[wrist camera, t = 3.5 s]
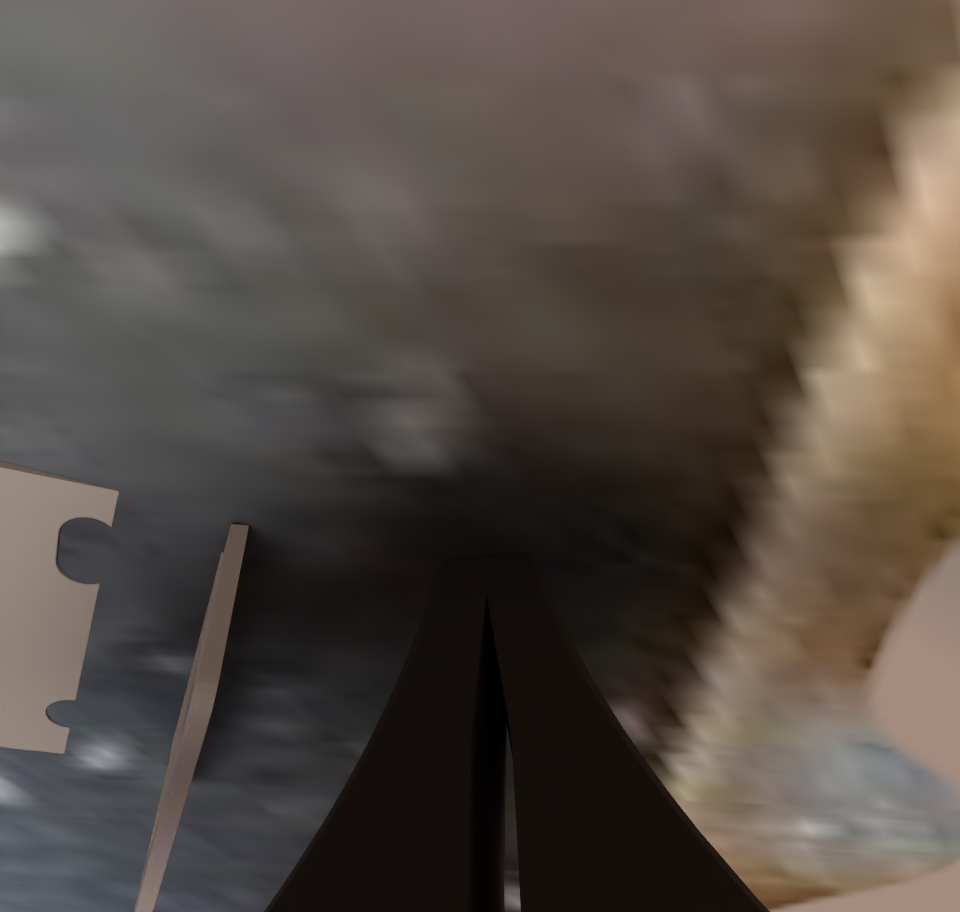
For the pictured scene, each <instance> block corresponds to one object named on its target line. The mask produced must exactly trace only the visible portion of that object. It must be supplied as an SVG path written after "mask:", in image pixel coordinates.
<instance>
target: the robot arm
mask: <svg viewBox="0 0 960 912" xmlns="http://www.w3.org/2000/svg"><path fill="white" fill-rule="evenodd" d="M507 727H508V733H509V739H510V745H511V750H512V756H513V769H514V786H515V804H516V822H517V841H518V860H519V879H520V900H521V912H769V911H768V910H767V908H766V907H765V906H764V905H763V904H762V903H761V902H760V901H759V900H758V899H757V898H756V896H755V895H754V894H753V893H752V892H751V891H750V889H749V888H748V887H747V886H746V885H745V884H744V882H743V881H742V880H741V879H740V878H739V877H738V876H737V874H736V873H735V872H734V871H733V870H732V869H731V867H730V866H729V865H728V864H727V863H726V862H725V860H724V859H723V858H722V857H721V856H720V855H719V853H718V852H717V851H716V850H715V849H714V848H713V847H712V845H711V844H710V843H709V842H708V841H707V840H706V838H705V837H704V836H703V835H702V834H701V833H700V831H699V830H698V829H697V828H696V826H695V825H694V824H693V823H692V821H691V820H690V819H689V818H688V816H687V815H686V814H685V812H684V811H683V810H682V809H681V807H680V806H679V805H678V804H677V802H676V801H675V800H674V798H673V797H672V796H671V795H670V793H669V792H668V791H667V789H666V788H665V787H664V785H663V784H662V783H661V781H660V780H659V779H658V777H657V776H656V774H655V773H654V772H653V770H652V769H651V768H650V766H649V765H648V764H647V762H646V761H645V759H644V758H643V757H642V755H641V754H640V752H639V751H638V749H637V748H636V747H635V745H634V744H633V742H632V741H631V739H630V738H629V736H628V735H627V733H626V732H625V730H624V729H623V727H622V726H621V724H620V723H619V721H618V720H617V718H616V716H615V715H614V713H613V712H612V710H611V709H610V707H609V705H608V704H607V702H606V701H605V699H604V698H603V696H602V694H601V693H600V691H599V689H598V688H597V686H596V684H595V682H594V681H593V679H592V677H591V676H590V674H589V672H588V670H587V668H586V667H585V665H584V663H583V661H582V659H581V657H580V656H579V654H578V652H577V650H576V648H575V647H574V645H573V643H572V641H571V639H570V637H569V635H568V633H567V631H566V629H565V627H564V625H563V623H562V621H561V619H560V616H559V614H558V612H557V610H556V608H555V605H554V603H553V601H552V598H551V596H550V593H549V591H548V588H547V586H546V583H545V580H544V577H543V574H542V570H541V567H540V563H539V558H538V556H537V555H535V554H534V553H532V552H531V551H526V552H516V553H507V554H498V555H488V556H479V557H470V558H460V559H451V560H443V561H442V562H441V563H440V564H439V565H438V566H437V567H436V570H435V575H434V580H433V584H432V587H431V591H430V595H429V598H428V601H427V604H426V608H425V611H424V614H423V617H422V619H421V622H420V625H419V628H418V631H417V633H416V636H415V639H414V642H413V644H412V646H411V649H410V651H409V654H408V656H407V659H406V661H405V664H404V666H403V668H402V671H401V673H400V676H399V678H398V681H397V683H396V685H395V688H394V690H393V692H392V694H391V697H390V699H389V701H388V703H387V705H386V707H385V709H384V711H383V713H382V715H381V717H380V719H379V721H378V723H377V726H376V728H375V730H374V732H373V734H372V736H371V738H370V740H369V742H368V744H367V746H366V748H365V750H364V752H363V754H362V756H361V758H360V759H359V761H358V763H357V765H356V767H355V769H354V771H353V772H352V774H351V776H350V778H349V780H348V781H347V783H346V785H345V787H344V788H343V790H342V792H341V794H340V795H339V797H338V799H337V800H336V802H335V804H334V806H333V807H332V809H331V811H330V812H329V814H328V816H327V817H326V819H325V821H324V822H323V824H322V826H321V827H320V829H319V830H318V832H317V833H316V835H315V837H314V838H313V840H312V841H311V843H310V844H309V846H308V847H307V849H306V851H305V852H304V854H303V855H302V857H301V858H300V860H299V862H298V863H297V865H296V866H295V868H294V869H293V871H292V872H291V874H290V875H289V877H288V878H287V880H286V881H285V883H284V884H283V886H282V887H281V889H280V890H279V891H278V893H277V894H276V896H275V897H274V899H273V900H272V902H271V903H270V904H269V906H268V907H267V908H266V910H265V911H264V912H505V909H504V849H505V795H506V735H507Z"/></svg>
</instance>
